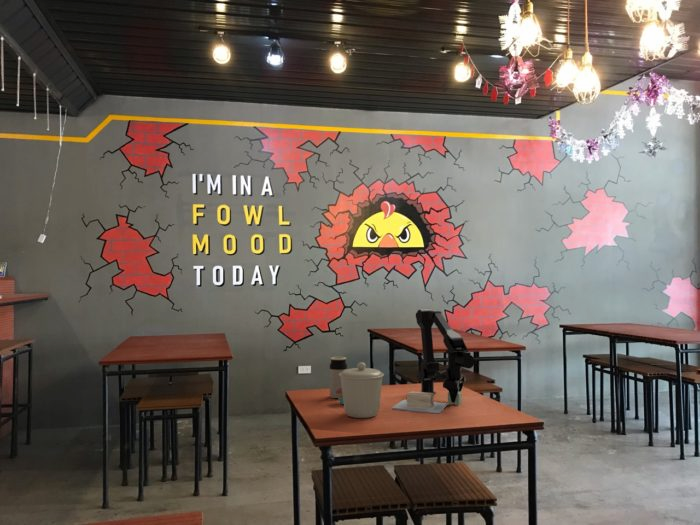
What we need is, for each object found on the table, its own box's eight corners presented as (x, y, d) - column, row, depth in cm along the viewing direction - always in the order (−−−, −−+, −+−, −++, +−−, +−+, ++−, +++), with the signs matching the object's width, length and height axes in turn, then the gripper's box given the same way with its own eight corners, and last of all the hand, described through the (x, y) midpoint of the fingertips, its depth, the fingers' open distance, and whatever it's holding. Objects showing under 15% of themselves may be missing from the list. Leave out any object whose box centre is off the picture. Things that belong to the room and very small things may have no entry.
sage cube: (450, 401, 244) (450, 390, 244) (461, 402, 242) (461, 391, 242) (447, 404, 240) (447, 392, 240) (459, 405, 238) (459, 393, 238)
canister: (378, 422, 210) (377, 367, 211) (333, 419, 216) (332, 365, 216) (388, 411, 228) (388, 360, 228) (346, 408, 233) (346, 358, 233)
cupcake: (332, 404, 240) (332, 376, 240) (340, 400, 247) (340, 373, 248) (351, 406, 236) (351, 378, 237) (358, 402, 244) (358, 374, 244)
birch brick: (410, 403, 239) (410, 391, 240) (433, 404, 236) (433, 393, 236) (407, 406, 234) (407, 394, 234) (430, 408, 230) (430, 396, 230)
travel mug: (350, 396, 256) (350, 357, 256) (341, 399, 249) (341, 359, 249) (335, 394, 260) (335, 356, 260) (326, 398, 253) (326, 358, 253)
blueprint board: (403, 400, 246) (403, 399, 246) (448, 405, 238) (448, 403, 238) (392, 409, 231) (392, 407, 231) (439, 413, 224) (439, 411, 224)
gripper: (441, 360, 253) (441, 395, 253) (430, 367, 236) (431, 404, 236) (465, 362, 249) (466, 397, 248) (456, 368, 232) (457, 406, 231)
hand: (454, 401), depth 241 cm, fingers open, 6 cm apart
